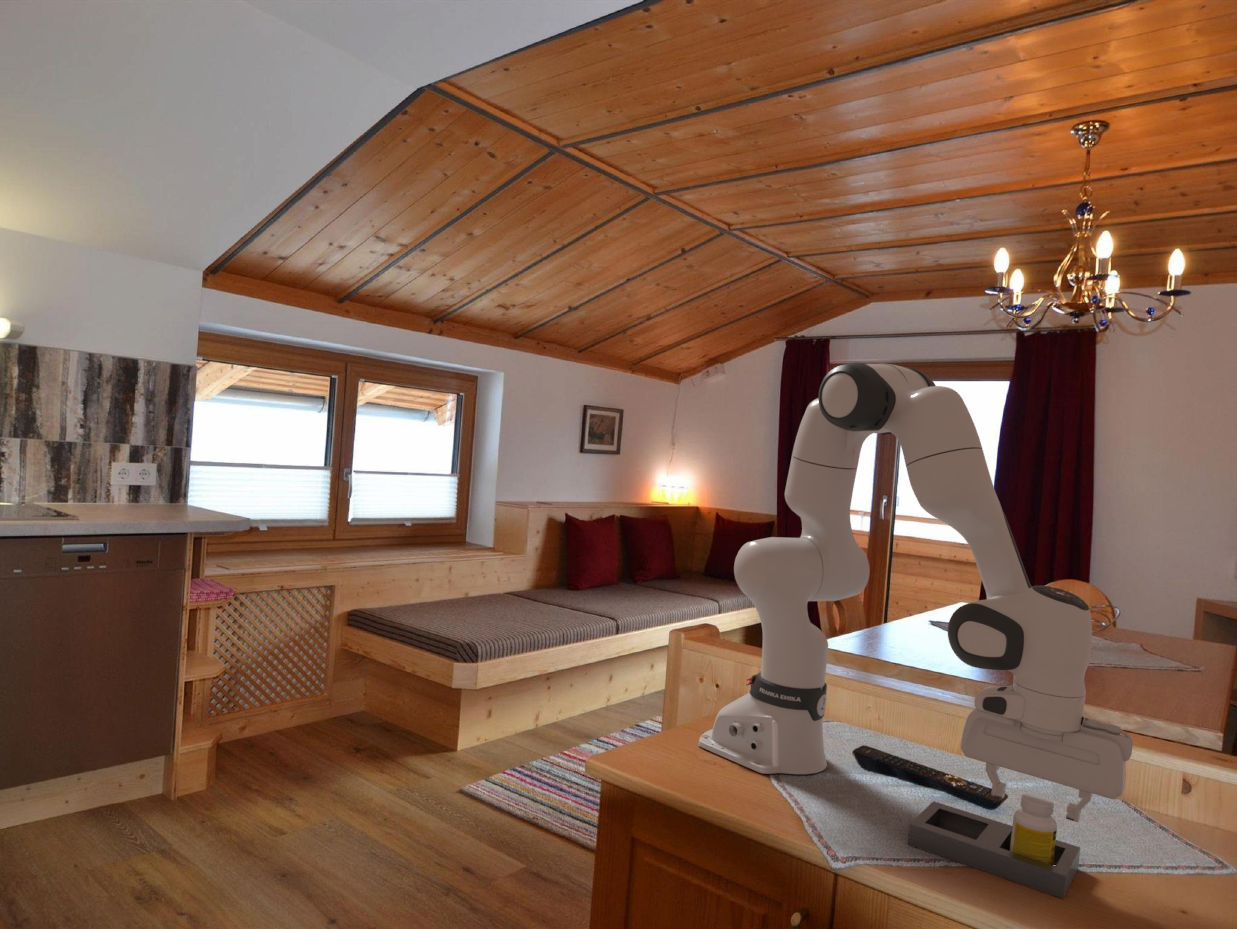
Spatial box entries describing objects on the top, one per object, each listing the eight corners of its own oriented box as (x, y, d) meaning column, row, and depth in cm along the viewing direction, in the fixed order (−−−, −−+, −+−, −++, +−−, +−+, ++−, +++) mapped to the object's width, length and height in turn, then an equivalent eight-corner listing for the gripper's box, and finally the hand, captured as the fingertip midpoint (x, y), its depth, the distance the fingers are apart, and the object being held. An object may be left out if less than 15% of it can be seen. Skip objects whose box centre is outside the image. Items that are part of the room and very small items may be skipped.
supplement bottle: (1057, 883, 116) (1065, 810, 116) (1014, 876, 117) (1021, 804, 117) (1045, 863, 121) (1052, 794, 121) (1003, 857, 122) (1010, 788, 122)
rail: (907, 844, 124) (909, 823, 124) (931, 820, 133) (933, 801, 132) (1063, 899, 112) (1065, 876, 112) (1078, 868, 121) (1080, 847, 121)
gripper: (1137, 724, 115) (1124, 826, 116) (975, 684, 127) (964, 777, 128) (1131, 735, 110) (1118, 842, 111) (963, 693, 122) (952, 790, 123)
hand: (1034, 807), depth 119 cm, fingers open, 8 cm apart
